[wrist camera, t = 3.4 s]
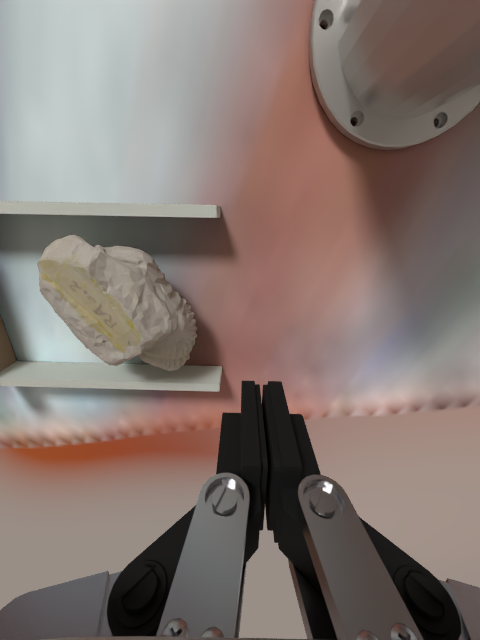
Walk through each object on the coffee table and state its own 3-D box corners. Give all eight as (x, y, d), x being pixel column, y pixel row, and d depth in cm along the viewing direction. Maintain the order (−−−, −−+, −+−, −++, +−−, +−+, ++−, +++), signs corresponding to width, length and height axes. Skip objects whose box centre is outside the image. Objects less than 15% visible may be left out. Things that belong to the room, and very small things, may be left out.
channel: (220, 206, 20) (212, 203, 15) (222, 372, 26) (217, 406, 21) (-67, 201, 20) (-159, 196, 16) (0, 367, 26) (-52, 399, 22)
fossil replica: (179, 366, 26) (224, 282, 24) (164, 426, 18) (229, 310, 16) (57, 316, 23) (93, 214, 21) (-22, 362, 15) (20, 207, 13)
